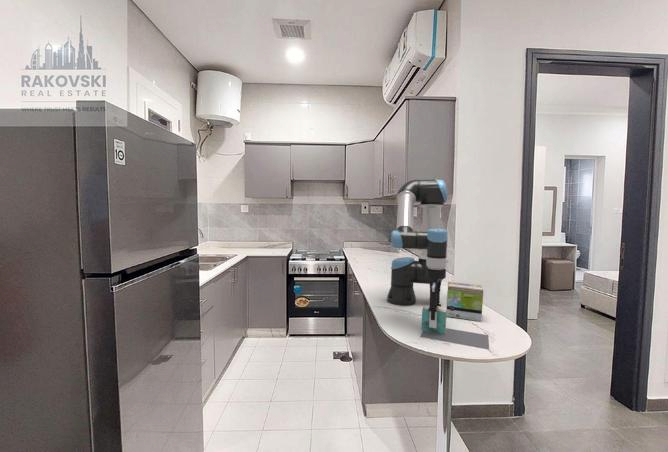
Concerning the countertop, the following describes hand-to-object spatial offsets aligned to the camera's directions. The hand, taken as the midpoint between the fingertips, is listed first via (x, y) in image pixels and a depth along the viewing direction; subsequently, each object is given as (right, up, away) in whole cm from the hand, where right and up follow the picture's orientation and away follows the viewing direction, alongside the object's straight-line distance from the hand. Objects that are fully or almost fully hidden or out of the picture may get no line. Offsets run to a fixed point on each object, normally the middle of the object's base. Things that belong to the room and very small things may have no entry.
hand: (433, 324), depth 128 cm
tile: (0, -3, 0) cm, 3 cm away
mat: (+7, -4, -4) cm, 9 cm away
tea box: (+20, -3, +21) cm, 29 cm away
